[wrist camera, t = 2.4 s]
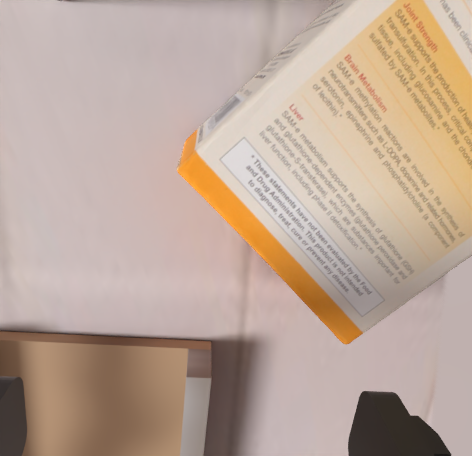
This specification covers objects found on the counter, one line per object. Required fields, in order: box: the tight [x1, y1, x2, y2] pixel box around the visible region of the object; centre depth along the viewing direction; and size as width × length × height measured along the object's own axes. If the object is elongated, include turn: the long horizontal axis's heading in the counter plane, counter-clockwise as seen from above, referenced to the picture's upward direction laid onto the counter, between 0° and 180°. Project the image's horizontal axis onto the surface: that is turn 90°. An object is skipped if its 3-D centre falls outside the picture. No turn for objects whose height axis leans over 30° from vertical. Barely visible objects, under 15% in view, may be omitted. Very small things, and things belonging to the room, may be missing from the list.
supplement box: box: [177, 0, 472, 344], centre depth 13 cm, size 8×5×13 cm
